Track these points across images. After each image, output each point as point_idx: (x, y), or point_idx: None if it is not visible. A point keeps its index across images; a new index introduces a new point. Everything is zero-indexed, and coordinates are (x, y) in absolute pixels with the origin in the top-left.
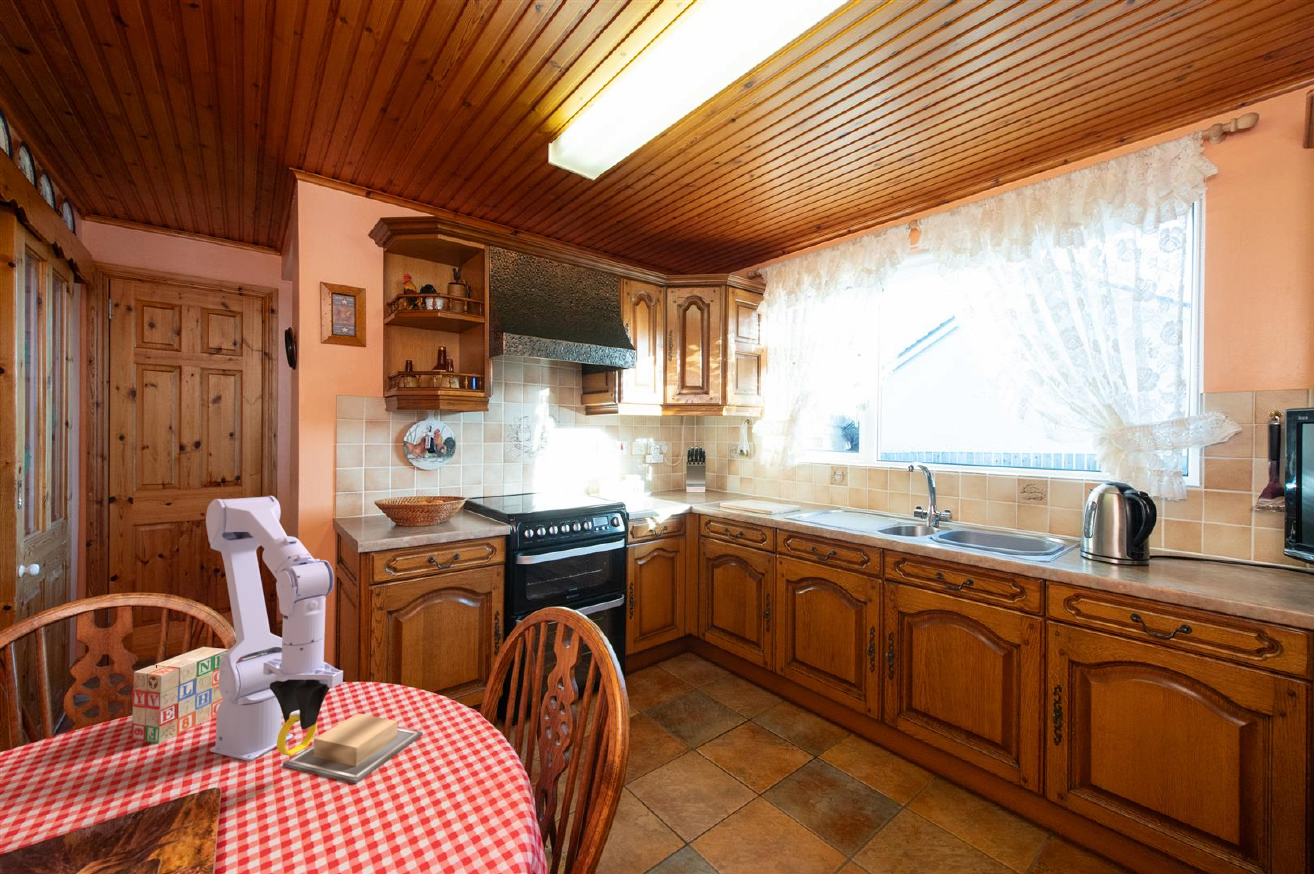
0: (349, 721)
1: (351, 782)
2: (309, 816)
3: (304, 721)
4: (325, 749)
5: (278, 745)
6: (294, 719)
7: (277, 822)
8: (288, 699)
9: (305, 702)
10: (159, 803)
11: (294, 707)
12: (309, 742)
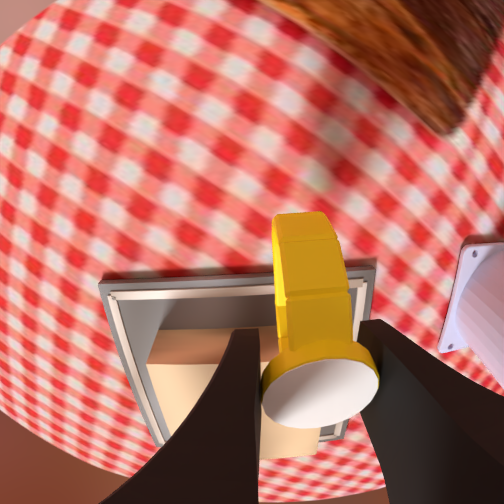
0: (303, 433)
1: (114, 280)
2: (81, 137)
3: (223, 356)
4: (276, 342)
5: (308, 212)
6: (303, 346)
7: (134, 81)
8: (429, 438)
9: (141, 472)
10: (492, 62)
11: (387, 410)
12: (277, 322)
